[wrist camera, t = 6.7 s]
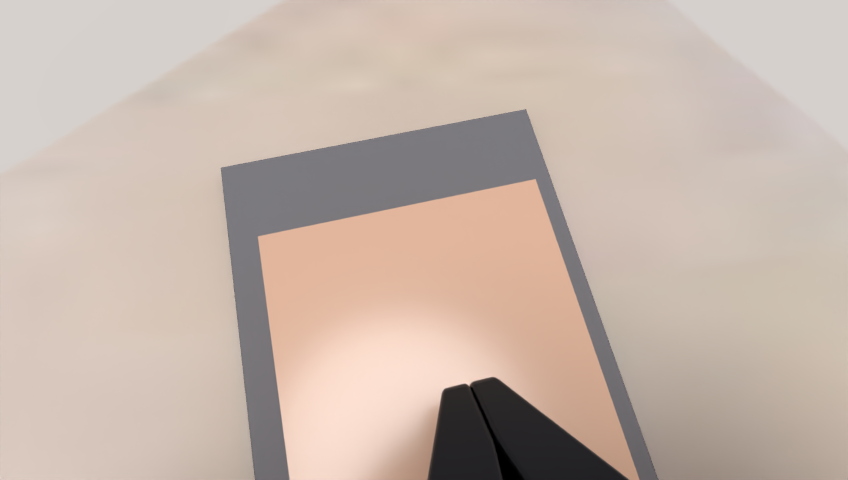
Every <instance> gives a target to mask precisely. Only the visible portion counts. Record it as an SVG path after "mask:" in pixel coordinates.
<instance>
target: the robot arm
mask: <svg viewBox="0 0 848 480" xmlns="http://www.w3.org/2000/svg"><path fill="white" fill-rule="evenodd" d="M427 480H629V479H628V478H627V477H625V476H624V475H623V474H621V473H620V472H619V471H618V470H616V469H615V468H614V467H612V466H611V465H610V464H608V463H607V462H606V461H605V460H603V459H602V458H601V457H599V456H598V455H597V454H595V453H594V452H593V451H592V450H590V449H589V448H588V447H586V446H585V445H584V444H582V443H581V442H580V441H579V440H577V439H576V438H575V437H573V436H572V435H571V434H569V433H568V432H567V431H566V430H564V429H563V428H562V427H560V426H559V425H558V424H556V423H555V422H554V421H553V420H551V419H550V418H549V417H547V416H546V415H545V414H543V413H542V412H541V411H540V410H538V409H537V408H536V407H534V406H533V405H532V404H530V403H529V402H528V401H527V400H525V399H524V398H523V397H521V396H520V395H519V394H517V393H516V392H515V391H514V390H512V389H511V388H510V387H508V386H507V385H506V384H504V383H503V382H502V381H501V380H499V379H498V378H496V377H489V378H485V379H481V380H476V381H473V382H472V383H471V384H470V386H469V385H468V384H460V385H456V386H452V387H448V388H445V389H444V390H443V391H442V394H441V400H440V406H439V412H438V418H437V424H436V430H435V436H434V442H433V448H432V454H431V460H430V466H429V472H428V478H427Z"/></svg>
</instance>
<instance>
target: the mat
mask: <svg viewBox="0 0 848 480" xmlns="http://www.w3.org/2000/svg"><path fill="white" fill-rule="evenodd" d="M221 174H222V183H223V192H224V201H225V210H226V219H227V228H228V238H229V247H230V256H231V265H232V274H233V283H234V292H235V301H236V311H237V320H238V329H239V338H240V347H241V356H242V365H243V374H244V384H245V393H246V402H247V411H248V420H249V429H250V438H251V447H252V457H253V466H254V475H255V480H290V479H289V471H288V463H287V456H286V448H285V440H284V433H283V425H282V417H281V410H280V402H279V394H278V387H277V379H276V372H275V364H274V356H273V349H272V341H271V333H270V326H269V318H268V310H267V303H266V295H265V287H264V280H263V272H262V264H261V257H260V249H259V242H258V236H262V235H267V234H272V233H277V232H281V231H286V230H291V229H296V228H301V227H306V226H311V225H315V224H320V223H325V222H330V221H335V220H340V219H344V218H349V217H354V216H359V215H364V214H369V213H374V212H378V211H383V210H388V209H393V208H398V207H403V206H407V205H412V204H417V203H422V202H427V201H432V200H437V199H441V198H446V197H451V196H456V195H461V194H466V193H470V192H475V191H480V190H485V189H490V188H495V187H500V186H504V185H509V184H514V183H519V182H524V181H529V180H533V179H536V182H537V185H538V188H539V191H540V193H541V196H542V199H543V202H544V205H545V208H546V211H547V214H548V217H549V219H550V222H551V225H552V228H553V231H554V234H555V237H556V240H557V243H558V245H559V248H560V251H561V254H562V257H563V260H564V263H565V266H566V269H567V272H568V274H569V277H570V280H571V283H572V286H573V289H574V292H575V295H576V298H577V300H578V303H579V306H580V309H581V312H582V315H583V318H584V321H585V324H586V326H587V329H588V332H589V335H590V338H591V341H592V344H593V347H594V350H595V353H596V355H597V358H598V361H599V364H600V367H601V370H602V373H603V376H604V379H605V381H606V384H607V387H608V390H609V393H610V396H611V399H612V402H613V405H614V407H615V410H616V413H617V416H618V419H619V422H620V425H621V428H622V431H623V433H624V436H625V439H626V442H627V445H628V448H629V451H630V454H631V457H632V460H633V462H634V465H635V468H636V471H637V474H638V477H639V480H658V478H657V475H656V472H655V469H654V466H653V464H652V461H651V458H650V455H649V452H648V450H647V447H646V444H645V441H644V438H643V436H642V433H641V430H640V427H639V424H638V422H637V419H636V416H635V413H634V410H633V408H632V405H631V402H630V399H629V397H628V394H627V391H626V388H625V385H624V383H623V380H622V377H621V374H620V371H619V369H618V366H617V363H616V360H615V357H614V355H613V352H612V349H611V346H610V343H609V341H608V338H607V335H606V332H605V329H604V327H603V324H602V321H601V318H600V315H599V313H598V310H597V307H596V304H595V301H594V299H593V296H592V293H591V290H590V287H589V285H588V282H587V279H586V276H585V273H584V271H583V268H582V265H581V262H580V259H579V257H578V254H577V251H576V248H575V245H574V243H573V240H572V237H571V234H570V231H569V229H568V226H567V223H566V220H565V217H564V215H563V212H562V209H561V206H560V203H559V201H558V198H557V195H556V192H555V189H554V187H553V184H552V181H551V178H550V175H549V173H548V170H547V167H546V164H545V161H544V159H543V156H542V153H541V150H540V147H539V145H538V142H537V139H536V136H535V133H534V131H533V128H532V125H531V122H530V119H529V117H528V114H527V111H526V109H525V110H520V111H515V112H509V113H504V114H499V115H494V116H489V117H483V118H478V119H473V120H468V121H462V122H457V123H452V124H447V125H442V126H436V127H431V128H426V129H421V130H416V131H410V132H405V133H400V134H395V135H389V136H384V137H379V138H374V139H369V140H363V141H358V142H353V143H348V144H342V145H337V146H332V147H327V148H322V149H316V150H311V151H306V152H301V153H296V154H290V155H285V156H280V157H275V158H269V159H264V160H259V161H254V162H249V163H243V164H238V165H233V166H228V167H222V168H221Z"/></svg>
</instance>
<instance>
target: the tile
mask: <svg viewBox="0 0 848 480" xmlns="http://www.w3.org/2000/svg"><path fill="white" fill-rule="evenodd" d="M258 242H259V249H260V257H261V264H262V272H263V280H264V287H265V295H266V303H267V310H268V318H269V326H270V333H271V341H272V349H273V356H274V364H275V372H276V379H277V387H278V394H279V402H280V410H281V417H282V425H283V433H284V440H285V448H286V456H287V463H288V471H289V479H290V480H427V478H428V472H429V466H430V460H431V454H432V448H433V442H434V436H435V430H436V424H437V418H438V412H439V406H440V400H441V394H442V391H443V390H444V389H445V388H448V387H452V386H456V385H460V384H468V385H469V386H470V384H471V383H472V382H473V381H476V380H481V379H485V378H489V377H496V378H498V379H499V380H501V381H502V382H503V383H504V384H506V385H507V386H508V387H510V388H511V389H512V390H514V391H515V392H516V393H517V394H519V395H520V396H521V397H523V398H524V399H525V400H527V401H528V402H529V403H530V404H532V405H533V406H534V407H536V408H537V409H538V410H540V411H541V412H542V413H543V414H545V415H546V416H547V417H549V418H550V419H551V420H553V421H554V422H555V423H556V424H558V425H559V426H560V427H562V428H563V429H564V430H566V431H567V432H568V433H569V434H571V435H572V436H573V437H575V438H576V439H577V440H579V441H580V442H581V443H582V444H584V445H585V446H586V447H588V448H589V449H590V450H592V451H593V452H594V453H595V454H597V455H598V456H599V457H601V458H602V459H603V460H605V461H606V462H607V463H608V464H610V465H611V466H612V467H614V468H615V469H616V470H618V471H619V472H620V473H621V474H623V475H624V476H625V477H627V478H628V479H629V480H639V477H638V474H637V471H636V468H635V465H634V462H633V460H632V457H631V454H630V451H629V448H628V445H627V442H626V439H625V436H624V433H623V431H622V428H621V425H620V422H619V419H618V416H617V413H616V410H615V407H614V405H613V402H612V399H611V396H610V393H609V390H608V387H607V384H606V381H605V379H604V376H603V373H602V370H601V367H600V364H599V361H598V358H597V355H596V353H595V350H594V347H593V344H592V341H591V338H590V335H589V332H588V329H587V326H586V324H585V321H584V318H583V315H582V312H581V309H580V306H579V303H578V300H577V298H576V295H575V292H574V289H573V286H572V283H571V280H570V277H569V274H568V272H567V269H566V266H565V263H564V260H563V257H562V254H561V251H560V248H559V245H558V243H557V240H556V237H555V234H554V231H553V228H552V225H551V222H550V219H549V217H548V214H547V211H546V208H545V205H544V202H543V199H542V196H541V193H540V191H539V188H538V185H537V182H536V179H533V180H529V181H524V182H519V183H514V184H509V185H504V186H500V187H495V188H490V189H485V190H480V191H475V192H470V193H466V194H461V195H456V196H451V197H446V198H441V199H437V200H432V201H427V202H422V203H417V204H412V205H407V206H403V207H398V208H393V209H388V210H383V211H378V212H374V213H369V214H364V215H359V216H354V217H349V218H344V219H340V220H335V221H330V222H325V223H320V224H315V225H311V226H306V227H301V228H296V229H291V230H286V231H281V232H277V233H272V234H267V235H262V236H258Z"/></svg>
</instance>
